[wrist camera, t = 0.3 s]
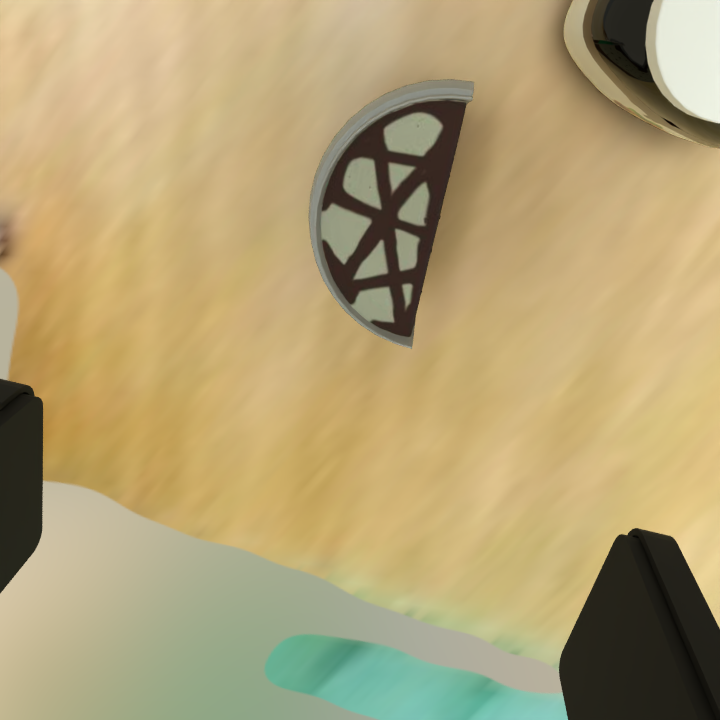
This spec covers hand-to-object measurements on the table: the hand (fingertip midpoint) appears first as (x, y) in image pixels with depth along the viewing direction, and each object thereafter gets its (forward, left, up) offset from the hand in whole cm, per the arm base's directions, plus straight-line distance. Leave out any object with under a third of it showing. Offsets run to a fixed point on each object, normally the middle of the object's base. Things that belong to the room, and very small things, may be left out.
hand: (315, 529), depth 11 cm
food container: (0, -1, -31) cm, 31 cm away
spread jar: (-12, +12, -31) cm, 35 cm away
